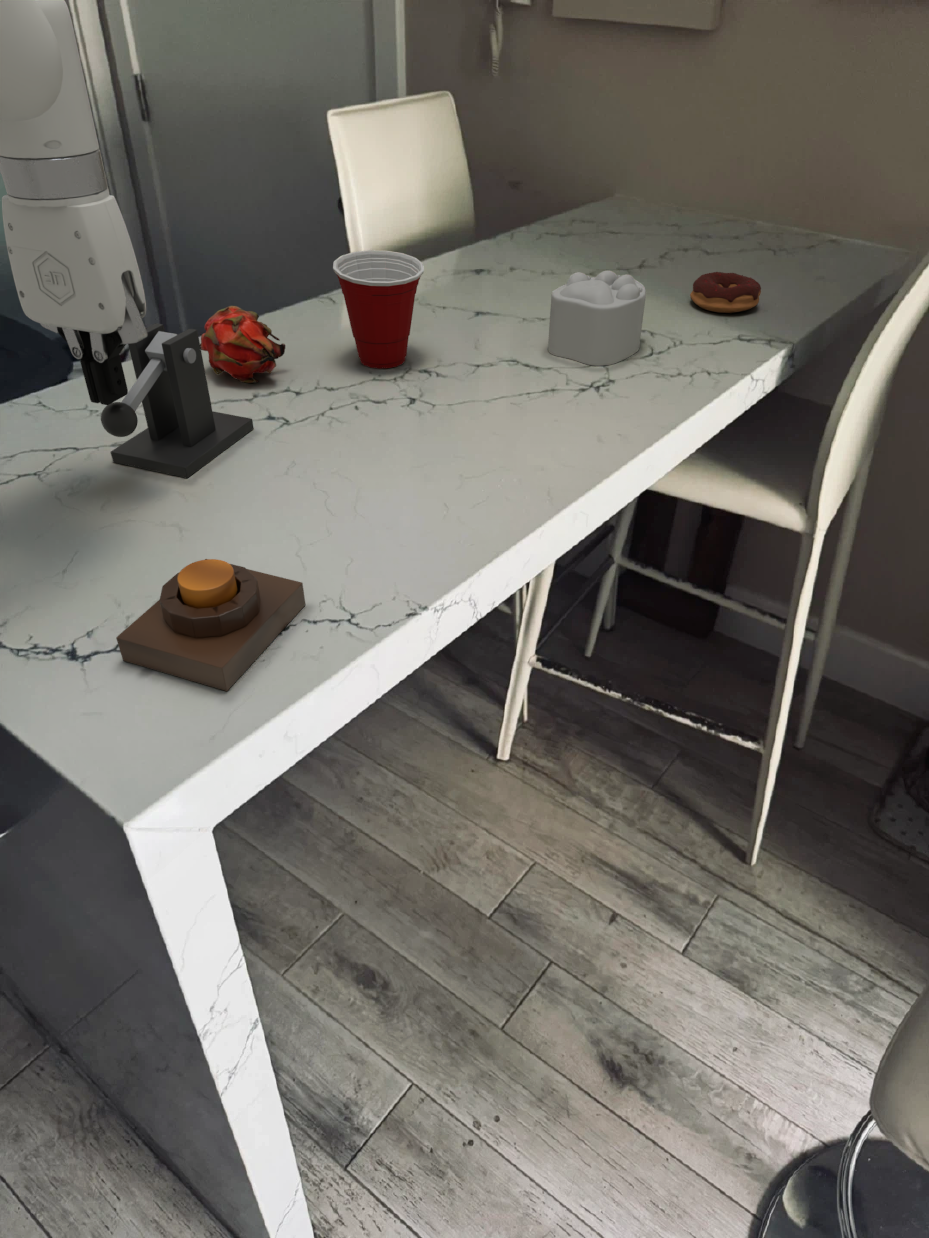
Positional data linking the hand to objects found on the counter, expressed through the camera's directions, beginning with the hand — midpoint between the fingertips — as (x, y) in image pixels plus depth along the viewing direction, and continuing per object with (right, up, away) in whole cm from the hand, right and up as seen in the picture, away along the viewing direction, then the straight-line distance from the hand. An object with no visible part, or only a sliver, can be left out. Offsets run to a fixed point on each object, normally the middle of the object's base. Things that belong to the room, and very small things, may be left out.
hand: (110, 398), depth 80 cm
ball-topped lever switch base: (+3, -2, +12) cm, 12 cm away
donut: (+70, +26, +48) cm, 89 cm away
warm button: (+14, -18, -15) cm, 27 cm away
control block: (+14, -21, -13) cm, 28 cm away
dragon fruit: (+6, +10, +27) cm, 29 cm away
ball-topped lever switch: (+2, +1, +5) cm, 6 cm away
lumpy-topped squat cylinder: (+50, +16, +35) cm, 63 cm away
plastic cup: (+22, +12, +30) cm, 40 cm away
